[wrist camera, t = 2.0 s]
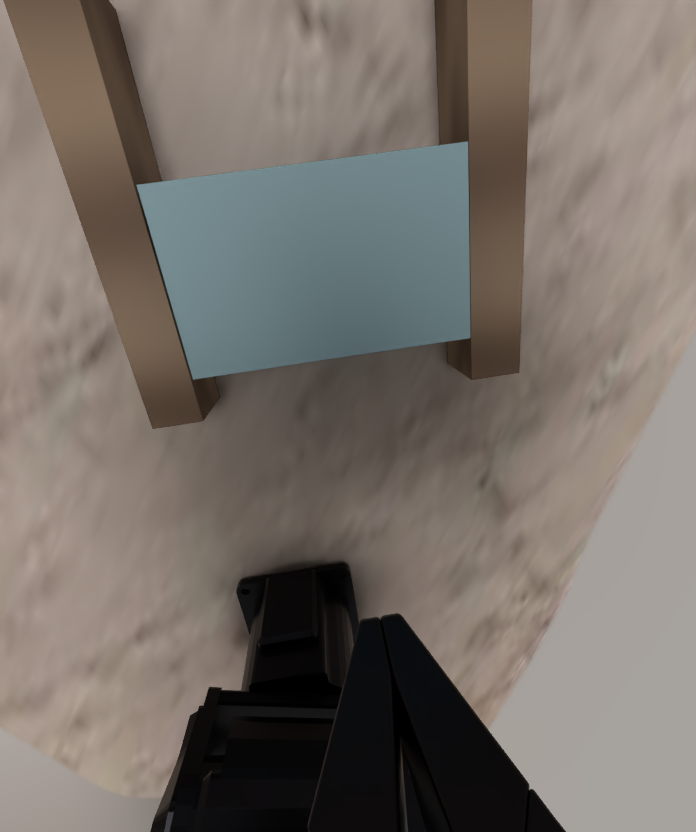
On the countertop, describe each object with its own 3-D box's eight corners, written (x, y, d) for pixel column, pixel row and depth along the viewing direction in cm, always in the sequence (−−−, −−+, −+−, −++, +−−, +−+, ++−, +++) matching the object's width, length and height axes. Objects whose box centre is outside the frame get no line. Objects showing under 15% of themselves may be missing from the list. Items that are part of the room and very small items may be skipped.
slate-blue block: (436, 323, 18) (470, 338, 14) (218, 355, 17) (193, 379, 14) (430, 171, 15) (468, 141, 12) (179, 205, 15) (136, 185, 11)
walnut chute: (488, 356, 19) (519, 372, 16) (177, 404, 18) (152, 428, 15) (489, -34, 13) (536, -113, 11) (55, 16, 13) (-15, -54, 10)
